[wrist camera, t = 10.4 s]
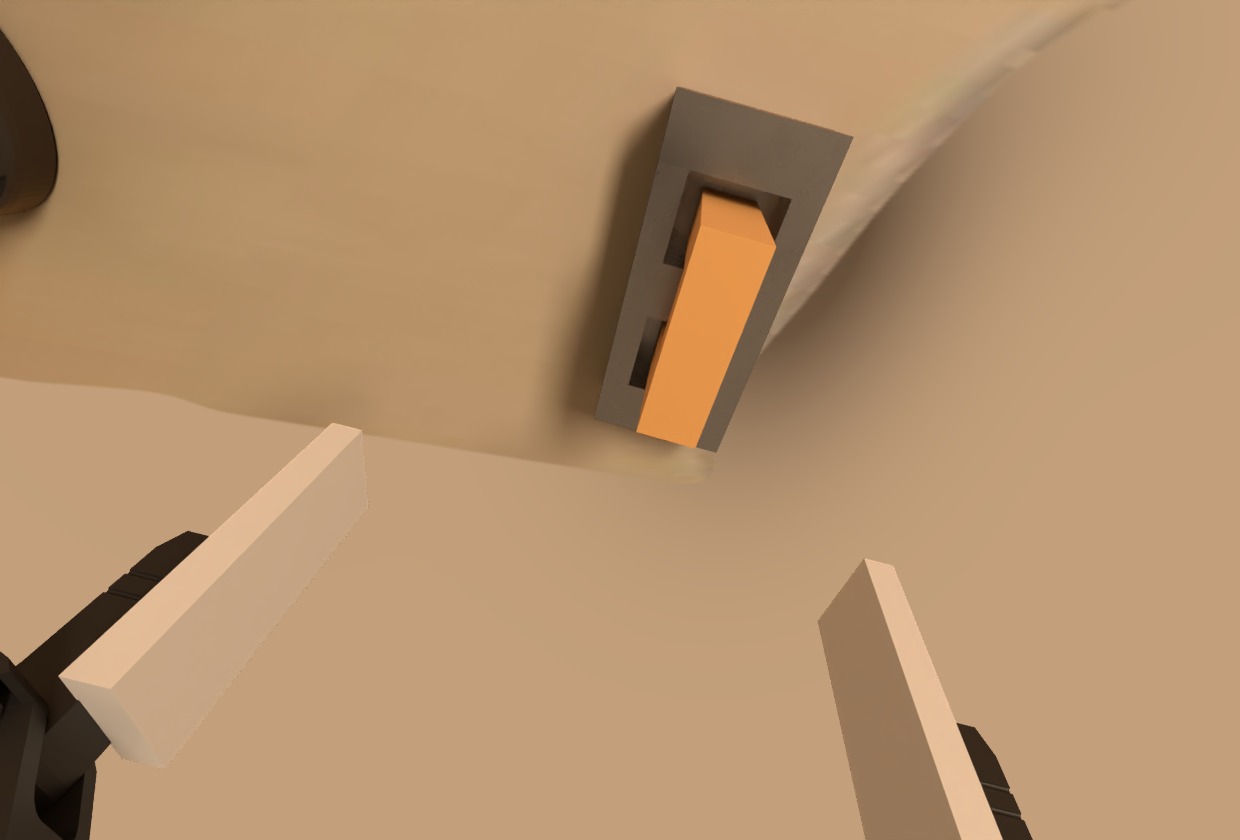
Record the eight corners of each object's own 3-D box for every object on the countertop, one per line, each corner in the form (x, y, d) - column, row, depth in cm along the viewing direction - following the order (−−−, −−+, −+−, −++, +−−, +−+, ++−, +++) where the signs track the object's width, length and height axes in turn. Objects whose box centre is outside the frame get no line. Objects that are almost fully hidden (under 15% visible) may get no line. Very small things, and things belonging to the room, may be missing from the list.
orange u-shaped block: (653, 349, 33) (636, 432, 25) (702, 186, 27) (700, 225, 19) (698, 362, 33) (695, 448, 25) (756, 201, 27) (776, 246, 20)
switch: (604, 387, 36) (594, 418, 32) (680, 87, 26) (676, 86, 22) (715, 418, 36) (716, 452, 32) (834, 130, 26) (853, 137, 22)
